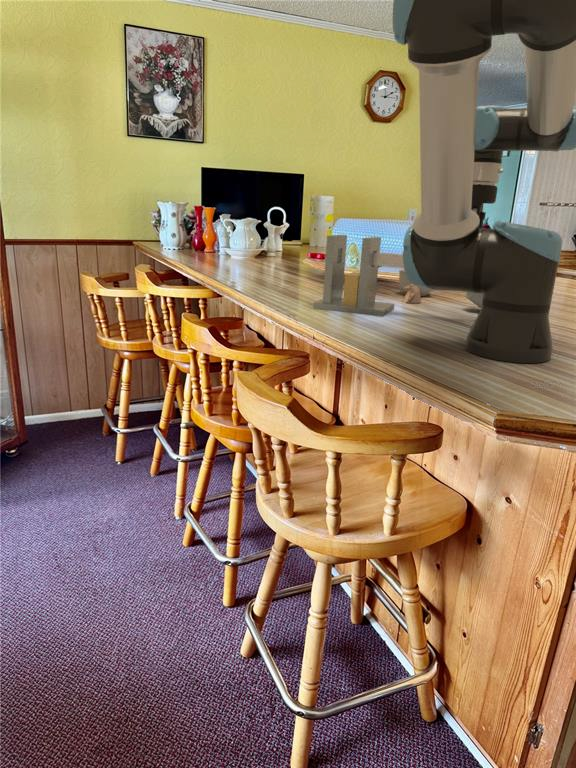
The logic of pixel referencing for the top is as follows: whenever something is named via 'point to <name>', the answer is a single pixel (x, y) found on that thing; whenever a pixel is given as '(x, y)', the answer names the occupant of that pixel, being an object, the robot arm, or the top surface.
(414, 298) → the mouse figurine
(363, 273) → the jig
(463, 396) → the top surface
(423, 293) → the teacup
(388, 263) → the shaft
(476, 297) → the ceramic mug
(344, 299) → the tan block
